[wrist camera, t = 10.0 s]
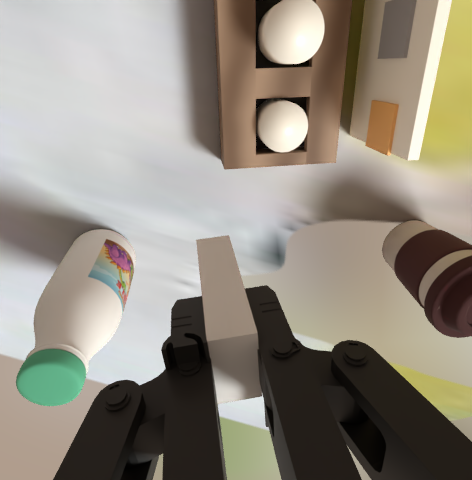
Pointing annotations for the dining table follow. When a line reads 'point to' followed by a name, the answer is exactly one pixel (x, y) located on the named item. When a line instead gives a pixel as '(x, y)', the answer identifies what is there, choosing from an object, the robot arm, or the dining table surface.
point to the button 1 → (281, 124)
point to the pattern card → (397, 73)
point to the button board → (278, 86)
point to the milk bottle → (77, 316)
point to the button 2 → (291, 31)
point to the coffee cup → (434, 273)
